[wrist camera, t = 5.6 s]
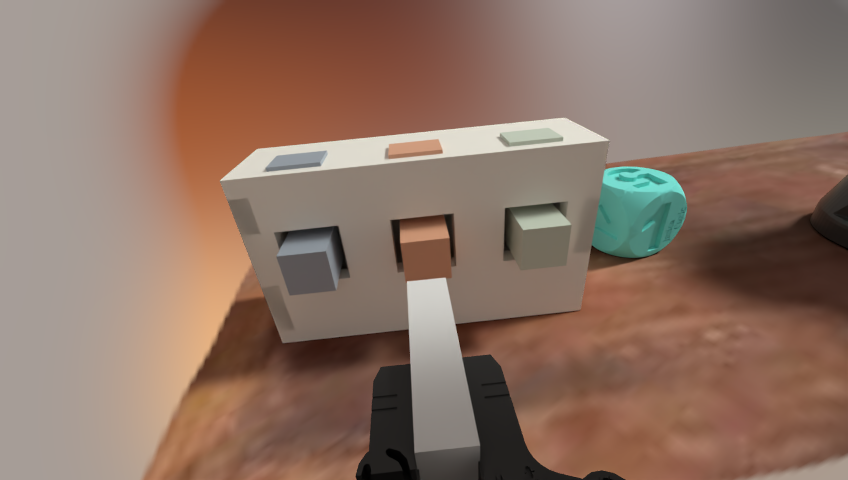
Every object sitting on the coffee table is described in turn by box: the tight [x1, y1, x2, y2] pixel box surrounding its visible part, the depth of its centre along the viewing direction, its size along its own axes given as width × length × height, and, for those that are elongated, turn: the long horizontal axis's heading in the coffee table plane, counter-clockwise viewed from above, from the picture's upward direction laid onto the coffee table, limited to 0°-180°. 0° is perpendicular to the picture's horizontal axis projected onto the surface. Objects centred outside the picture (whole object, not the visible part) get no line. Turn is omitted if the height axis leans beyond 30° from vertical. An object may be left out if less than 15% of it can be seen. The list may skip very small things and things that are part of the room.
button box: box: [220, 118, 610, 343], centre depth 33 cm, size 28×8×16 cm, turn 94°
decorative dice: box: [592, 167, 687, 258], centre depth 42 cm, size 8×8×8 cm
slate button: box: [276, 226, 344, 296], centre depth 29 cm, size 4×5×4 cm
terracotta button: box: [400, 215, 452, 283], centre depth 29 cm, size 4×5×4 cm
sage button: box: [504, 203, 572, 270], centre depth 30 cm, size 4×5×4 cm
